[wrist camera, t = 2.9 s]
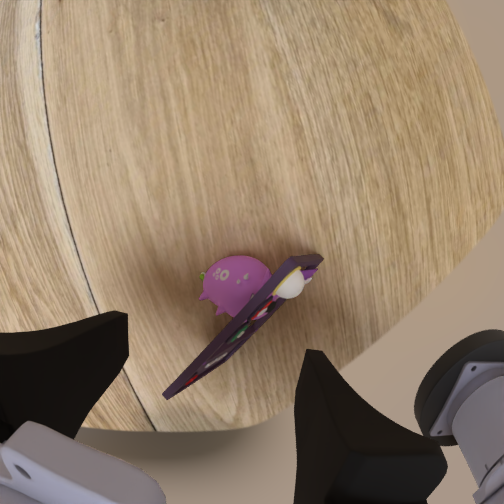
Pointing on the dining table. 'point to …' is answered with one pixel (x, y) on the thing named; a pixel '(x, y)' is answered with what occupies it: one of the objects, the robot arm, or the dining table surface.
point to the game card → (243, 305)
